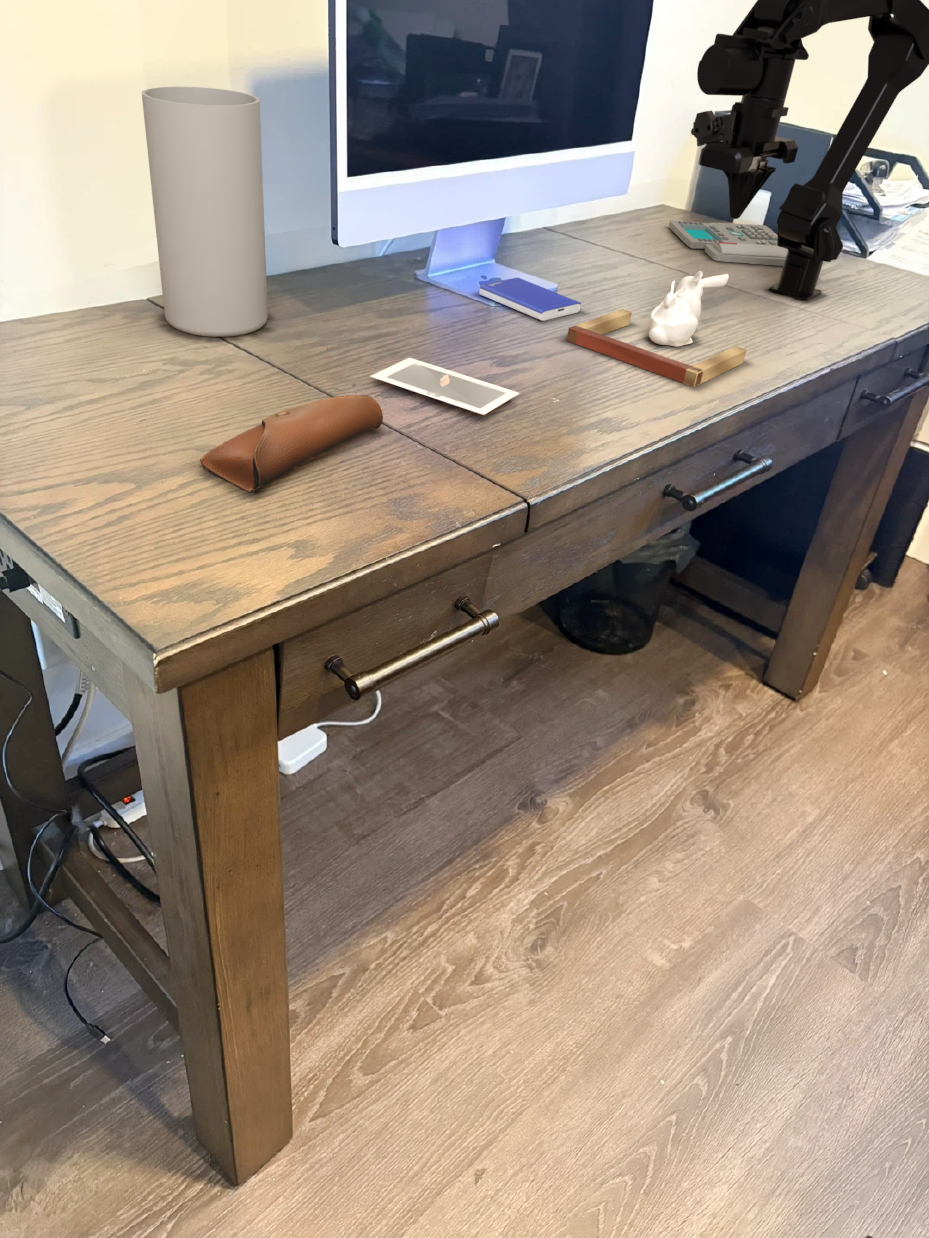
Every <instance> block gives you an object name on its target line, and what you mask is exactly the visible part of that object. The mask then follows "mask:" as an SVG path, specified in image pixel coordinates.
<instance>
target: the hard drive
mask: <svg viewBox="0 0 929 1238" xmlns="http://www.w3.org/2000/svg"><path fill="white" fill-rule="evenodd" d="M478 291H479V295H480V296H482V297H485V298H487V299H488V300H489V299H490V300H492V301H493V302H497V303H499V304H501V305H504V306H506V307H508V308H510V309H514V310H516V311H518V312H520V313H523V314H524V315H528V316H530V317H532V318H534V319H537V320H540V321H542V322H543V321H548V320H549V321H550V320H553V319H556V318H561V317H566V316H568V315H573V314H577V313H579V312H580V311H581V308H582V307H581V306H582V303H581V302H580V301H578V300H575V299H572V298H570V297H567V296H565V295H563V294H560V293H558V292H555V291H552V290H551V289H548V288H546V287H543V286H541V285H538V284H535V283H533V282H530V281H528V280H525V279H523V278H520V277H512V278H506V279H503V280H497V281H493V282H487V283H483V284H481V285H480V286H479V290H478Z"/></svg>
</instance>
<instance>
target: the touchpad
mask: <svg viewBox="0 0 929 1238" xmlns="http://www.w3.org/2000/svg"><path fill="white" fill-rule="evenodd" d="M369 377H370V378H373V379H376V380H379V381H382V382H385V383H388V384H391V385H394V386H396V387H400V388H403V389H406V390H408V391H411V392H415V393H417V394H420V395H424V396H426V397H429V398H432V399H435V400H438V401H441V402H444V403H447V404H450V405H453V406H455V407H459V408H462V409H464V410H467V411H471V412H473V413H476V414H479V415H483V416H485V415H486V414H488V413H490V412H491V411H493V410H494V409H496V408H498V407H500V406H502V405H503V404H504V403H506V402H508V401H510V400H511V399H513V398H515V397H516V396H518V395H520V392H518V391H515V390H513V389H512V390H511V389H509V388H505V387H503V386H500V385H497V384H493V383H490V382H487V381H483V380H481V379H477V378H476V377H475V378H474V377H471V376H469V375H465V374H462V373H459V372H456V371H453V370H449V369H447V368H443V367H441V366H437V365H434V364H431V363H427V362H424V361H421V360H419V359H416V358H412V357H407V358H406V359H403V360H401V361H399V362H397V363H395V364H393V365H390V366H389V367H386V368H384V369H382V370H380V371H378V372H375V373H374V374H371V375H369Z"/></svg>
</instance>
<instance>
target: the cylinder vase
mask: <svg viewBox="0 0 929 1238" xmlns="http://www.w3.org/2000/svg"><path fill="white" fill-rule="evenodd" d="M141 100H142V101H141V102H142V111H143V120H144V128H145V129H144V130H145V139H146V148H147V159H148V167H149V168H148V169H149V177H150V179H149V180H150V187H151V196H152V207H153V216H154V225H155V234H156V247H157V251H158V252H157V255H158V262H159V263H158V264H159V265H158V266H159V273H160V283H161V292H162V293H161V294H162V301H163V303H162V304H163V312H164V318H165V320H166V321H167V323H168V324H169V325H170V326H171V327H173V328H174V329H176V330H178V331H181V332H183V333H186V334H190V335H194V336H201V337H212V338H226V337H227V338H228V337H237V336H243V335H247V334H250V333H254V332H255V331H258V330H260V329H261V328H262V327H263V326H265V324H266V323H267V321H268V317H269V313H268V288H267V287H268V286H267V261H266V260H267V259H266V258H267V257H266V235H265V231H266V230H265V209H264V208H265V207H264V185H263V183H264V181H263V179H264V177H263V158H262V157H263V153H262V134H261V133H262V131H261V127H262V126H261V106H260V105H261V104H260V100H261V99H260V98H259V97H258V96H255V95H253V94H249V93H245V92H241V91H236V90H229V89H223V88H213V87H202V86H201V87H200V86H159V87H150V88H146V89H143V90H142V91H141Z"/></svg>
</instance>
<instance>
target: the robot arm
mask: <svg viewBox="0 0 929 1238" xmlns="http://www.w3.org/2000/svg"><path fill="white" fill-rule="evenodd" d="M868 17H869V18H868ZM861 18H868V24H867V30H868V33H869V35H870V37H871V39H872V41H873V43H872V45H871V48H870V51H869V53H868V56H867V57H868V58H867V78H866V80H865V82H864V84H863V85H862V87H861V89H860V92H858V95H857V97H856V98H855V100H854V102H853V104H852V105H851V108H850V110H849V111H848V113H847V115H846V116H845V119H844V121H843V122H842V123H841V126H840V127H839V129H838V132H837V134H836V135H835V137H834V139H833V140H832V142H831V144H830V146H829V147H828V149H827V151H826V153H825V155H824V157H823V158H822V160H821V162H820V164H819V166H818V168H817V169H816V171H815V173H814V175H813V176H812V178H810V179H809V180H808V181H806V182H805V183H804V184H800V183H794V184H793V185H792V186H791V187H790V189H789V192H788V194H787V196H786V197H785V200H784V201H783V203H782V204H781V205H780V206H779V208H778V210H779V213H778V216H777V220H776V224H777V246H779V247H783V248H785V249H788V252H787V255H786V259H785V262H784V266H782V270H781V273H780V277H779V280H778V283H776V284H773V285H771V286H769V287H768V291H771V292H774V293H777V294H779V295H780V294H781V295H784V296H788V297H790V298H794V299H797V300H802V301H809V300H811V299H813V298H815V297H817V296H820V295H822V293H823V290H821V289H818V288H816V287H817V284H818V281H819V277H820V274H821V271H822V267H823V266H824V265H823V264H824V263H825V262H826V263H830V262H832V261H835V260H837V259H838V258H839V256H840V254H841V252H842V250H843V249H844V244H843V242H842V239H841V237H840V234H839V231H838V229H837V226H838V224H839V221H840V219H841V217H842V214H843V195H844V192H845V189H846V186H847V185H848V183H849V182H850V180H851V178H852V177H853V176H854V173H855V171H856V169H857V168H858V166H859V164H860V162H861V161H862V159H863V157H864V156H865V153H866V152H867V150H868V149H869V146H870V145H871V143H872V141H873V139H874V137H875V136H876V134H877V132H878V131H879V129H880V128H881V125H882V124H883V122H884V120H885V118H886V116H887V115H888V113H889V111H890V110H891V107H892V106H893V104H894V103H895V100H896V99H897V97H898V96H899V94H900V93H901V92H902V91H903V90H905V89H906V88H907V87H909V86H910V85H911V84H912V83H914V82H915V81H917V79H919V78H920V77H921V76H922V75H923V74H924V72H925V70H926V69H927V68H928V66H929V7H928V6H926V4H924V2H923V1H921V0H756V2H755V3H754V5H753V6H752V7H751V8H750V10H749V11H748V13H747V14H746V15H745V17H744V18H743V20H742V21H740V24H739V25H738V27H737V28H736V29H735V30H734V32H733V33H732V34H726V33H716V34H715V39H714V42H713V44H712V45H710V46H709V47H708V48H707V49H706V50H705V51H704V52H703V54H702V57H701V59H700V60H699V62H698V65H697V72H696V77H697V84H698V87H699V89H700V91H701V92H702V94H705V95H707V96H732V97H734V96H737V97H738V96H739V97H741V100H740V101H735V102H734V103H733V104H732V105H731V109H730V113H729V114H724V115H718V116H716V115H715V113H714V112H713V110H705V111H700V112H697V113H696V115H695V118H694V122H692V128H691V130H690V135H692V136H693V137H694V138H696V146H697V147H702V146H704V145H705V146H704V147H702V149H700V154H699V159H698V165H699V166H701V167H705V168H710V169H715V170H718V171H722V172H723V173H724V175H725V176H726V178H727V185H728V198H729V199H728V200H729V217H730V219H734V220H738V219H739V218H740V217H742V215H743V214H744V212H745V211H746V210H747V208H748V207H749V205H750V203H751V202H752V201H753V200H754V198H755V197H756V195H757V194H758V193H759V191H760V190H761V188H762V187H763V186H764V185H765V183H766V182H767V181H768V180H769V178H770V177H771V175H772V174H773V173H775V172H776V171H777V167H774V166H771V165H768V164H769V160H768V158H773V159H777V160H782V163H783V164H791V163H795V161H796V157H797V154H798V150H799V147H798V144H797V143H796V141H795V139H791V138H786V137H782V136H777V134H778V130H779V125H780V122H781V118H782V117H787V116H788V113H789V108H790V107H788V106H785V103H786V98H787V95H788V91H789V88H790V83H791V80H792V75H793V72H794V67H795V63H796V60H797V61H807V60H808V59H809V56H810V55H809V52H808V51H807V48H805V46H804V45H803V40H802V39H804V38H806V37H808V36H811V35H814V34H816V33H817V32H818V31H819V30H821V28H822V27H823V26H826V25H828V24H832V23H837V22H844V21H850V20H857V19H861Z"/></svg>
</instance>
